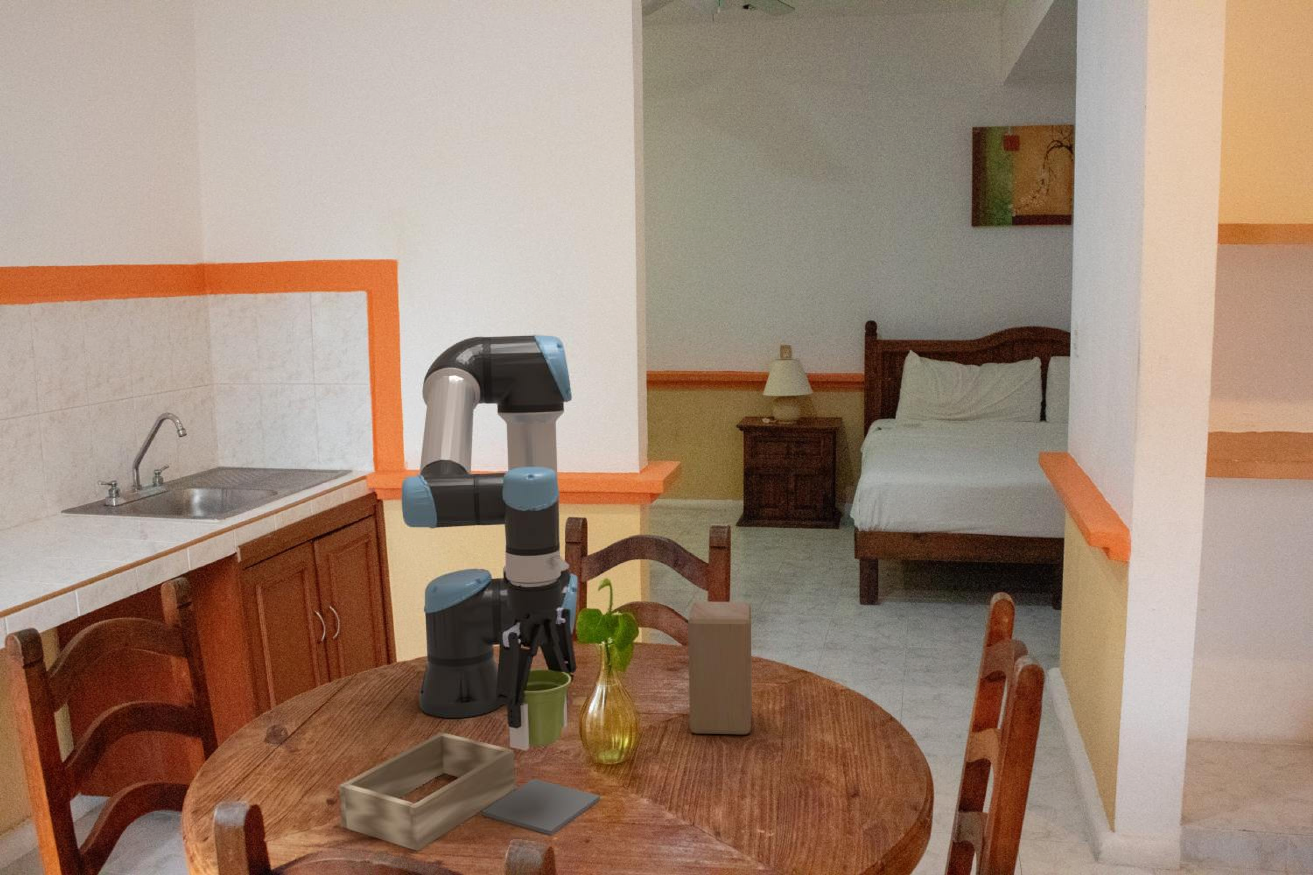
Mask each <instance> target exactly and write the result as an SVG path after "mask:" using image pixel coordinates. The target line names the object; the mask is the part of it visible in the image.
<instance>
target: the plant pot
mask: <svg viewBox="0 0 1313 875" xmlns="http://www.w3.org/2000/svg"><path fill="white" fill-rule="evenodd" d="M570 684H571V677H570V676H569V675H568V674H566V673H565V672H556V671H552V670H548V668H545V669H544V668H538V669H537V668H536V669H530V674H529V678H528V683H527V687H526V691H524V694H525V696H524V701H523V702H524V703H528V730H529V746H531V747H543V746H550V745H552V744H554V743H555V742H557V740H560V739H561V737H562V731H563V730H562V729H563V728H562V722H563V712H564V703H565V694H566V693H567V694H568V688H569V685H570ZM516 696H517V694H516Z"/></svg>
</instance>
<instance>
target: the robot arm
mask: <svg viewBox="0 0 1313 875" xmlns="http://www.w3.org/2000/svg"><path fill="white" fill-rule="evenodd" d="M431 363H432V364H431V365H430V367H429V368H428V369H427V372H426V374H425V376H424V380H423V383H422V399H423V402H424V403H425V405H426V411H425V418H424V420H425V422H424V430H423V438H422V447H421V458H420V466H419V474H417V475H413V476H407V477H405V478H404V480H403V481H402V483H401V484H402V485H401V510H402V511H401V513H402V518H403V522H404V524H405V525H406V526H407V527H410V528H430V529H437V528H438V529H439V528H454V527H468V526H469V527H471V526H499V525H501V526H502V525H504V535H505V536H504V537H505V554H504V555H505V564H504V566H503V568H502V571H503V572H502V573H503V574H502V575H503V577H500V578H493V577H492V574H491V571H489V570H488V569H484V568H467V569H461V570H455V571H452V572H448V573H445V574H442V575H440V576H437V577H435V578H434V579H432V580H431V581H430V582H428V584H427V585H426V587H425V588H424V589H425V590H424V607H423V612H424V613H425V631H426V632H425V634H426V635H425V637H426V655H427V659H426V660H427V661H426V662H427V664H426V668H425V671H424V674H423V678H422V682H421V688H420V690H419V693H418V701H419V709H420V710H421V711H422V710H423V711H424V712H423V711H422V712H423V713H425V714H428V715H430V716H433V717H438V718H445V719H446V718H447V719H448V718H449V719H456V718H457V719H459V718H471V717H476V716H480V715H484V713H485V714H487V713H490V712H492V711H495V710H497V709H499V708H500V707H502V706H503V705H506V710H507V726H508V727H509V747H510V748H514V749H517V750H522V751H525V752H526V751H528V750H529V749H530V744H529V730H528V703H524V702H523V701H524V696H525V694H524V691H526V687H527V683H528V678H529V674H530V670H532V664H533V659H534V657H536V656H537V654H538V651H539V648H540V650H541V653H542V657H543V659H544V661H545V664H546V667H547V669H548V670H552V671H556V672H565V673H566V674H568V675H569V676H570V677H571V682H573V680H574V673H576V671H577V663H576V656H575V651H574V650H575V649H574V643H573V637H572V634H573V630H574V626H575V620H576V610H577V602H578V601H577V600H578V598H577V597H578V594H577V593H578V585H579V584H578V583H579V582H578V576H577V574H574V573H570V564H569V563H568V562H566V560H565V559H563V558H562V557H561V543H560V542H561V541H560V506H559V505H560V500H559V498H560V491H559V490H560V488H559V483H558V481H559V480H558V454H557V453H558V451H557V448H558V447H557V421H558V419H559V418H560V417H561V416H562V415H563V414H564V413H565V406H564V405H565V404H564V403H568V402H570V401H572V400H573V399H572V398H573V397H572V396H573V395H572V390H571V389H572V388H571V381H570V374H569V373H570V372H569V368H568V363H567V357H566V352H565V348H564V344H563V342H562V340H561V339H560V338H559V337H557V336H553V335H542V334H541V335H537V334H533V335H509V336H508V335H504V336H503V335H502V336H474V337H470V338H465V339H463V340H460V341H458V342H456V343H455V344H452V345H451V346H450V347H448V348H446V349H445V350H444V351H443V352H442V353H440V355H439V356H437V357H436V358H435V360H434V361H433V362H431ZM478 404H480V405H481V404H485V405H487V404H488V405H489V404H490V405H491V404H494V405H495V404H496V407H497V415H498V416H499V417H500V418H501V419H502V420H503V421H504V422H505V424H506V440H507V442H506V444H507V445H506V446H507V471H506V472H492V473H472V472H471V471H472V452H473V451H472V450H473V432H474V429H473V428H474V427H473V426H474V410H475V409H476V408H477V406H478ZM497 645H498V646H499V652H498V663H497V661H496V660H495V654H494V653H495V652H494V646H497ZM522 646H523V647H524V648H523V647H522ZM571 673H572V674H571ZM571 682H570V683H571ZM516 694H517V696H516ZM567 701H568V692H567V693H566V694H565V703H564V712H563V722H562V729H565V728H567V727H568V714H567V713H568V710H567V706H568V705H567V704H568V703H567Z"/></svg>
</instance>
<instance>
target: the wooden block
mask: <svg viewBox="0 0 1313 875" xmlns="http://www.w3.org/2000/svg"><path fill="white" fill-rule="evenodd" d="M688 617H689V618H688V621H687V625H688V628H687V630H688V634H687V635H688V636H687V637H688V683H689V684H688V694H689V695H688V696H689V698H688V702H689V729H690V731H691V733H693V734H709V735H710V734H711V735H714V734H716V735H717V734H718V735H748V734H749V733H750V731H751V729H752V712H753V711H752V708H753V707H752V703H753V702H752V608H751V605H750V603H748V602H745V601H695V602H693V603H692V605H691V609H690V613H689V616H688Z"/></svg>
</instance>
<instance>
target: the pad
mask: <svg viewBox="0 0 1313 875" xmlns="http://www.w3.org/2000/svg"><path fill="white" fill-rule="evenodd" d="M599 801H601V796H600V795H598V794H594V793H591V792H588V791H583V790H581V789H580V790H579V789H575V788H571V787H567V786H564V785H560V784H556V783H552V782H547V781H544V780H540V779H538V778H532V779H530V780H528V781H527V782H525V783H524V784H522V785H520V786H519V787H517V788H515V789H514V790H513V791H511V792H510V793H508V794H506V795H505V796H503V797H502V798H500V799H499V800H497V801H495V802H494V803H492V804H491V805H489V806H488V807H486V808H484V809H483V810H481V816H483V817H487V818H489V819H493V820H497V821H501V822H504V823H508V824H509V825H511V824H512V825H515V826H518V827H521V828H525V829H527V830H532V831H536V832H538V833H541V834H545V835H549V836H552V835H554V834H555V833H556V832H558V831H559V830H560V829H561V828H564V827H565V826H566V825H567V824H569V823H570V822H571V821H573V820H574V819H575V818H577V817H578V816H580V815H581V814H583V813H584V812H586V811H587V810H588V809H590V808H592V806H593V805H595V804H596V803H598V802H599Z"/></svg>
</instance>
